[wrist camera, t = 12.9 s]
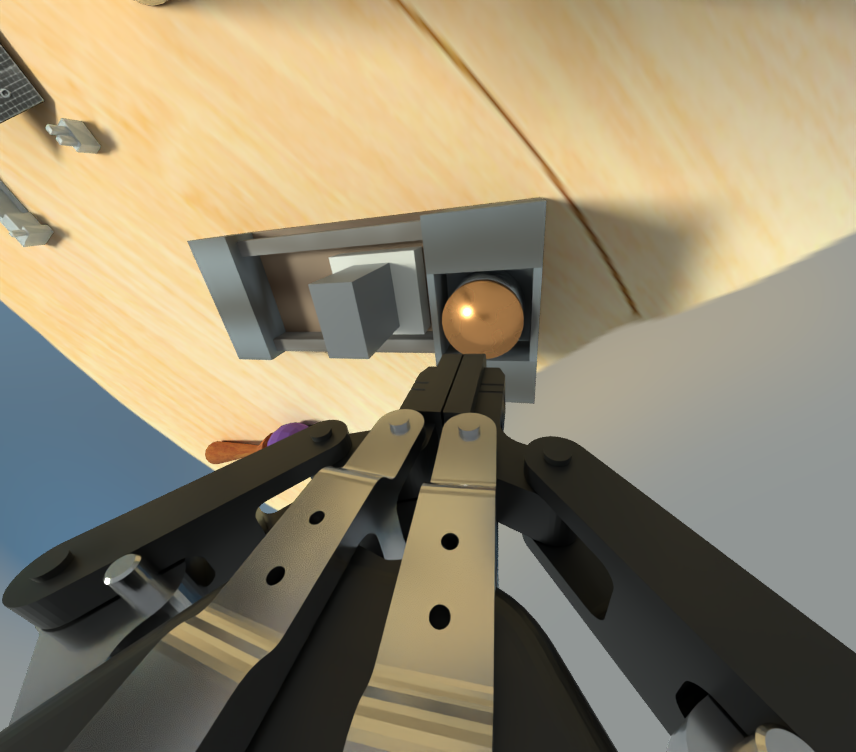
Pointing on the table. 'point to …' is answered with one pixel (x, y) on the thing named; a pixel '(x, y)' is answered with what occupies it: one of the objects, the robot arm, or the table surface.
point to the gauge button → (485, 314)
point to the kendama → (248, 445)
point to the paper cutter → (13, 94)
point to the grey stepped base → (313, 245)
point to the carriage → (371, 300)
